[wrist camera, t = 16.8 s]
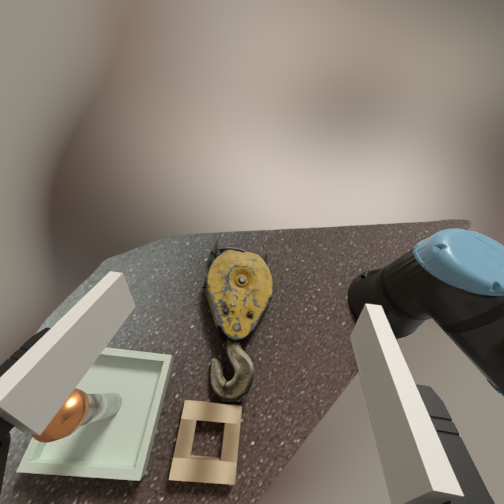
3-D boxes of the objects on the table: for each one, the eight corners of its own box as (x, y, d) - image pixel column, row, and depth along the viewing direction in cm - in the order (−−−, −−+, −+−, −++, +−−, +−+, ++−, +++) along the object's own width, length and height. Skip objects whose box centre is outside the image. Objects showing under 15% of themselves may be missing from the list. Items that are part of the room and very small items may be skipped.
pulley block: (180, 400, 31) (214, 230, 47) (179, 398, 36) (210, 244, 52) (274, 407, 35) (277, 245, 50) (261, 404, 39) (267, 257, 55)
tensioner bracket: (240, 405, 38) (242, 406, 36) (233, 479, 33) (234, 484, 31) (186, 399, 37) (184, 400, 35) (170, 475, 32) (168, 479, 30)
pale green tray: (174, 357, 40) (171, 355, 37) (145, 473, 32) (139, 480, 29) (85, 347, 38) (76, 344, 36) (32, 465, 31) (16, 472, 28)
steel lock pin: (130, 389, 36) (90, 390, 24) (119, 424, 33) (68, 444, 21) (101, 386, 35) (45, 386, 23) (88, 421, 33) (19, 440, 21)
